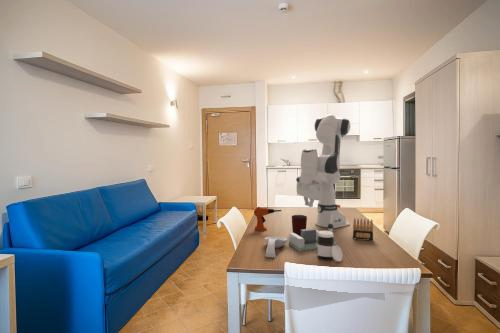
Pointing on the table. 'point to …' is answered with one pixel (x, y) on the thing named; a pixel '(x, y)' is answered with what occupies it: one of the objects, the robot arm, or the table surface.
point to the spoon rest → (274, 245)
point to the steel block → (308, 235)
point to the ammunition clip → (363, 229)
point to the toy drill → (260, 219)
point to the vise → (301, 243)
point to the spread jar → (328, 246)
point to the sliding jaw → (330, 228)
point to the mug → (298, 223)
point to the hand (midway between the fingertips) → (308, 206)
